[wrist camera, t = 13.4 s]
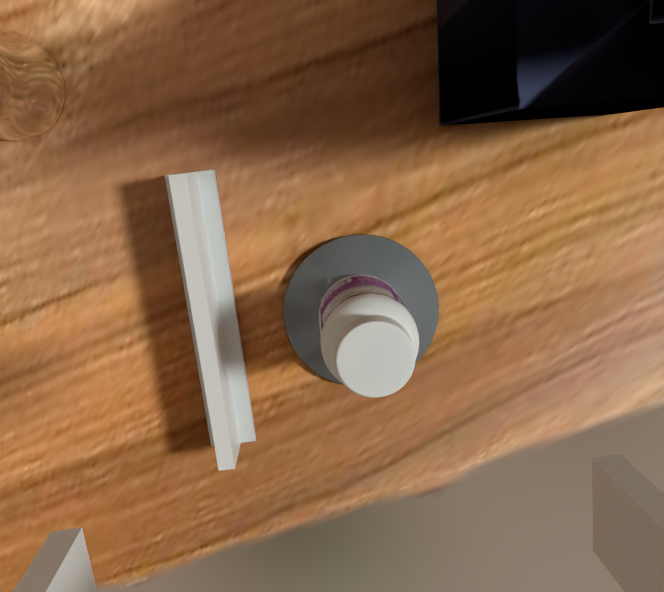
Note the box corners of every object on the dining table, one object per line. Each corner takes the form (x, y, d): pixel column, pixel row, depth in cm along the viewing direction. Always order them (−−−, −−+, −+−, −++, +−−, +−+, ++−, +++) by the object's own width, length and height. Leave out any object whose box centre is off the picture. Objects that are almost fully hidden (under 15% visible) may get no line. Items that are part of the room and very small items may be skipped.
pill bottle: (402, 350, 40) (431, 409, 31) (320, 355, 40) (324, 416, 31) (400, 269, 39) (429, 305, 30) (316, 273, 39) (318, 311, 29)
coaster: (294, 391, 41) (294, 394, 41) (274, 243, 39) (273, 245, 38) (442, 373, 41) (444, 376, 41) (430, 225, 39) (432, 226, 38)
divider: (212, 443, 42) (202, 472, 38) (166, 175, 38) (150, 177, 34) (256, 437, 42) (251, 466, 38) (214, 169, 38) (204, 171, 34)
